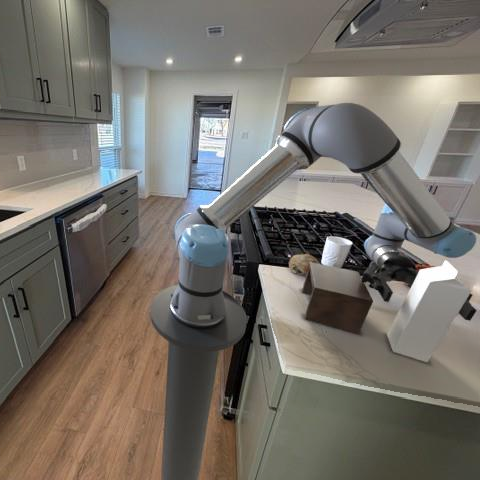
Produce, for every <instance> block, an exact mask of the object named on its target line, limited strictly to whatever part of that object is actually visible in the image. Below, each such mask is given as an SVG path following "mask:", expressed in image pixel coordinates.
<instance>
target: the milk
mask: <svg viewBox="0 0 480 480" xmlns="http://www.w3.org/2000/svg"><path fill="white" fill-rule="evenodd" d="M458 274H459V271H458V269H456V267H454V266H453V265H452V264H451V263H450V262H449V260H446V259H445V260H444V261H443V263H442V265H440V266H439V265H438V266H435V267H432V268H425V269H420V271H419V273H418V275H417V277H416V279H415V280H414V282H413V284H412V286H410V288H409V291H408V292H407V294H406V297H405V298H404V300H403V302H402V305H401V307H399V311H398V312H397V314H396V316H395V318H394V320H393V322H392V324H391V327H390V329H389V330H388V332H387V335H386V336H387V339H388V342H389V345H390V347H391V350H392V352H393V353H396V354H400V355H401V356H405V357H409V358H411V359H414V360H418V361H420V362H424V363H428V362H429V361H430V360H431V357H432V356H433V354H434V353H435V351H436V349H437V348H438V347H439V344H440V343H441V341H442V340H443V338H444V336H445V335H446V334H447V331H449V328H450V327H451V325H452V324H453V322H454V320H455V319H456V317H457V315H458V314H459V313H458V312H459V311H460V309H461V307H462V306H463V304H464V303H465V301H466V299H467V298H468V296H469V295H470V293H471V294H472V289H470V288H469V287H468V285H466V284H465V282H464V281H462V279H460V278H459V277H458Z"/></svg>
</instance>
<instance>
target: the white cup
mask: <svg viewBox="0 0 480 480" xmlns="http://www.w3.org/2000/svg"><path fill="white" fill-rule="evenodd" d="M352 246H353V241H351V240H349V239H347V238H344V237H339V236H331V235H330V236H327V237H326V240H325V242H324V246H323V251H322V257H321V259H320V262H321V263H320V264H322V265H327V266H332V267H337V268H342V267H343V266H344V263H345V262H346V259H347V257H348V255H349V254H350V253H349V252H350V250H351V248H352Z"/></svg>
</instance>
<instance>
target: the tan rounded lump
mask: <svg viewBox="0 0 480 480" xmlns="http://www.w3.org/2000/svg"><path fill="white" fill-rule="evenodd" d="M310 262H312V263H317V264H321V263H320V262H319V260H318V259H317V258H316V257H314V256H313V255H311V254H310V253H309V254H307V253H304V254H295V255H293V256H292V257H291V258H290V259H289V262H288V267H289V269H290V271H292V273H293V274H296V275H300V276H303V277H306V275H307V272H308V268H309V265H310Z"/></svg>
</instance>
